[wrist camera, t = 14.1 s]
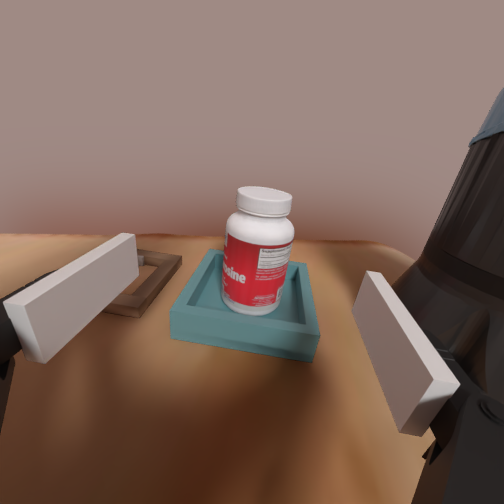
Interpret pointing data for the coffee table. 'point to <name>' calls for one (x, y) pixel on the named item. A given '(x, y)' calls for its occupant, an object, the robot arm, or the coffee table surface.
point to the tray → (245, 326)
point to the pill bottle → (257, 251)
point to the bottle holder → (146, 284)
